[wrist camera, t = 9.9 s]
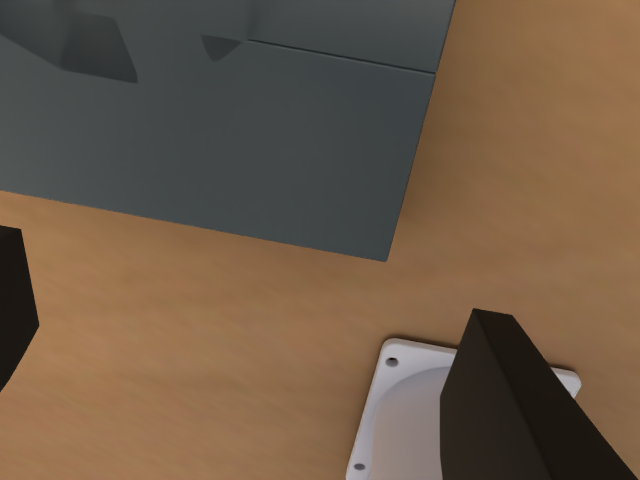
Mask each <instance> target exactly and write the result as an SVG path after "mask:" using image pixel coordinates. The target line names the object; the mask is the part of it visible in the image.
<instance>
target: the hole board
mask: <svg viewBox="0 0 640 480" xmlns="http://www.w3.org/2000/svg"><path fill="white" fill-rule="evenodd" d="M455 3H456V0H0V190H1V191H6V192H12V193H17V194H22V195H28V196H33V197H39V198H44V199H49V200H55V201H60V202H65V203H71V204H76V205H81V206H87V207H92V208H98V209H103V210H108V211H114V212H119V213H124V214H130V215H135V216H140V217H146V218H151V219H157V220H162V221H167V222H173V223H178V224H183V225H189V226H194V227H199V228H205V229H210V230H216V231H221V232H226V233H232V234H237V235H242V236H248V237H253V238H259V239H264V240H269V241H275V242H280V243H285V244H291V245H296V246H301V247H307V248H312V249H318V250H323V251H328V252H334V253H339V254H344V255H350V256H355V257H360V258H366V259H371V260H377V261H382V262H386V261H387V259H388V255H389V251H390V248H391V244H392V240H393V236H394V233H395V229H396V225H397V221H398V217H399V214H400V210H401V206H402V202H403V199H404V195H405V191H406V187H407V184H408V180H409V176H410V172H411V168H412V165H413V161H414V157H415V153H416V150H417V146H418V142H419V138H420V134H421V131H422V127H423V123H424V119H425V116H426V112H427V108H428V104H429V101H430V97H431V93H432V89H433V85H434V82H435V78H436V72H437V70H438V67H439V63H440V59H441V55H442V52H443V48H444V44H445V40H446V37H447V33H448V29H449V25H450V21H451V18H452V14H453V10H454V6H455Z"/></svg>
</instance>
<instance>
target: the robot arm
mask: <svg viewBox="0 0 640 480" xmlns="http://www.w3.org/2000/svg"><path fill="white" fill-rule="evenodd" d="M38 327H39V321H38V315H37V310H36V305H35V300H34V295H33V289H32V284H31V279H30V274H29V268H28V263H27V258H26V253H25V247H24V242H23V237H22V232H21V229H18V228H12V227H6V226H1V225H0V392H1V390H2V389H3V388H4V386H5V385H6V383H7V382H8V381H9V379H10V378H11V376H12V374H13V372H14V371H15V369H16V367H17V366H18V364H19V362H20V360H21V359H22V357H23V355H24V353H25V352H26V350H27V348H28V346H29V344H30V342H31V340H32V338H33V337H34V335H35V333H36V331H37V329H38ZM388 358H396V359H395V360H389V359H388ZM580 387H581V381H580V378H579V376H578V375H577V374H576V373H575V372H572V371H568V370H563V369H558V368H552V367H550V366H549V365H548V363H547V362H546V361H545V359H544V358H543V356H542V355H541V354H540V352H539V351H538V349H537V348H536V347H535V345H534V344H533V343H532V341H531V340H530V338H529V337H528V336H527V334H526V333H525V332H524V330H523V329H522V327H521V326H520V325H519V323H518V322H517V321H516V319H515V318H514V317H513V316H512V315H509V314H503V313H497V312H492V311H486V310H480V309H475V308H473V310H472V313H471V315H470V318H469V321H468V323H467V326H466V329H465V331H464V334H463V337H462V339H461V342H460V344H459V347H458V350H456V349H451V348H446V347H440V346H435V345H430V344H424V343H419V342H414V341H408V340H403V339H398V338H392V339H388V340H387V341H385V342H384V344H383V345H382V349H381V352H380V356H379V359H378V363H377V366H376V370H375V373H374V376H373V380H372V383H371V387H370V390H369V394H368V397H367V401H366V404H365V408H364V411H363V414H362V418H361V421H360V425H359V428H358V432H357V435H356V439H355V442H354V446H353V449H352V452H351V456H350V459H349V463H348V466H347V470H346V480H638V478H637V477H636V476H635V475H634V474H633V473H632V471H631V470H630V469H629V468H628V467H627V465H626V464H625V463H624V462H623V461H622V460H621V458H620V457H619V456H618V455H617V453H616V452H615V451H614V450H613V448H612V447H611V446H610V445H609V443H608V442H607V441H606V440H605V439H604V437H603V436H602V435H601V433H600V432H599V431H598V430H597V428H596V427H595V426H594V425H593V423H592V422H591V421H590V419H589V418H588V417H587V416H586V414H585V413H584V412H583V410H582V409H581V408H580V406H579V405H578V404H577V403H576V401H575V400H574V398H575V396H576V394H577V393H578V391H579V389H580Z"/></svg>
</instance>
